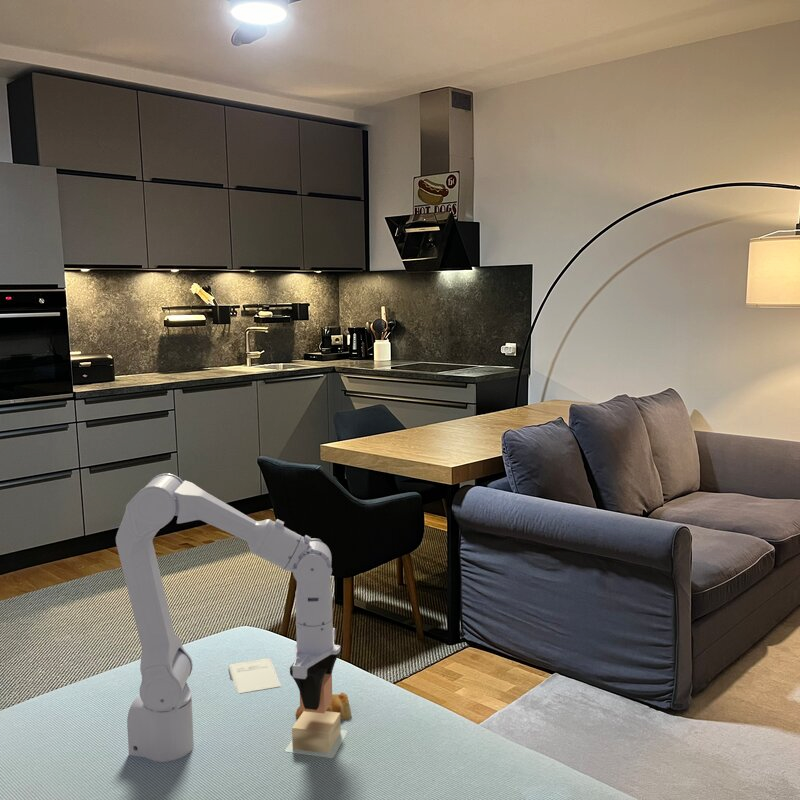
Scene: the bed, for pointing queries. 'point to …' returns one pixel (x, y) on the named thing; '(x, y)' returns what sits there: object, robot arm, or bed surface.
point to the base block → (316, 731)
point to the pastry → (336, 706)
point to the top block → (322, 696)
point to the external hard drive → (254, 675)
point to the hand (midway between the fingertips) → (316, 701)
